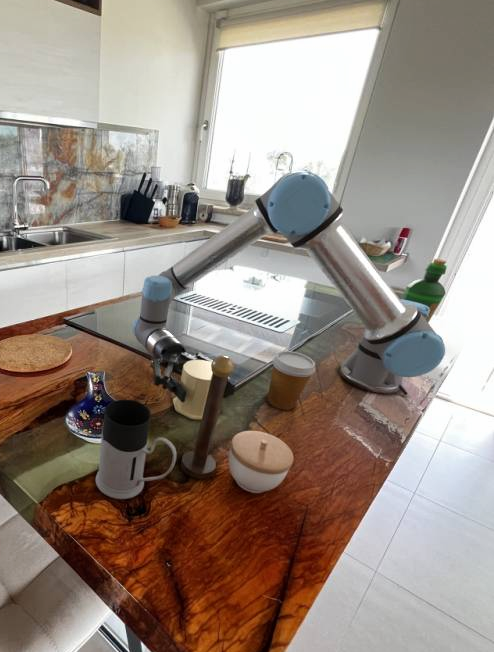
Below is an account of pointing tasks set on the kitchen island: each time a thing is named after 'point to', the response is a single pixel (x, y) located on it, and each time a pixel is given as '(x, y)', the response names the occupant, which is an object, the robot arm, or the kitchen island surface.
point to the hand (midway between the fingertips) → (209, 393)
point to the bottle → (428, 287)
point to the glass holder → (126, 449)
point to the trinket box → (259, 461)
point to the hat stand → (208, 422)
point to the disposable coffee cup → (289, 378)
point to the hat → (194, 388)
